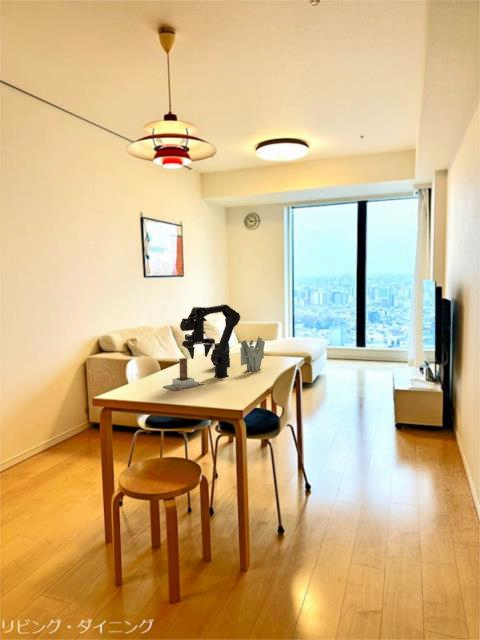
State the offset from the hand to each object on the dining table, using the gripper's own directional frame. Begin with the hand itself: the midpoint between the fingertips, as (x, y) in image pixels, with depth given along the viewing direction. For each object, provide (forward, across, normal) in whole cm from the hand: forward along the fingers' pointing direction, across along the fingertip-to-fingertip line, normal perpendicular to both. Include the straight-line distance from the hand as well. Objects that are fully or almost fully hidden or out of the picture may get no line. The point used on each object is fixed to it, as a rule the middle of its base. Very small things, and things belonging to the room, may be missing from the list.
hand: (199, 357), depth 245 cm
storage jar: (+13, -35, -22) cm, 43 cm away
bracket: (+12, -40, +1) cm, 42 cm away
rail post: (+13, +13, +3) cm, 18 cm away
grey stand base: (+13, +13, +3) cm, 19 cm away
